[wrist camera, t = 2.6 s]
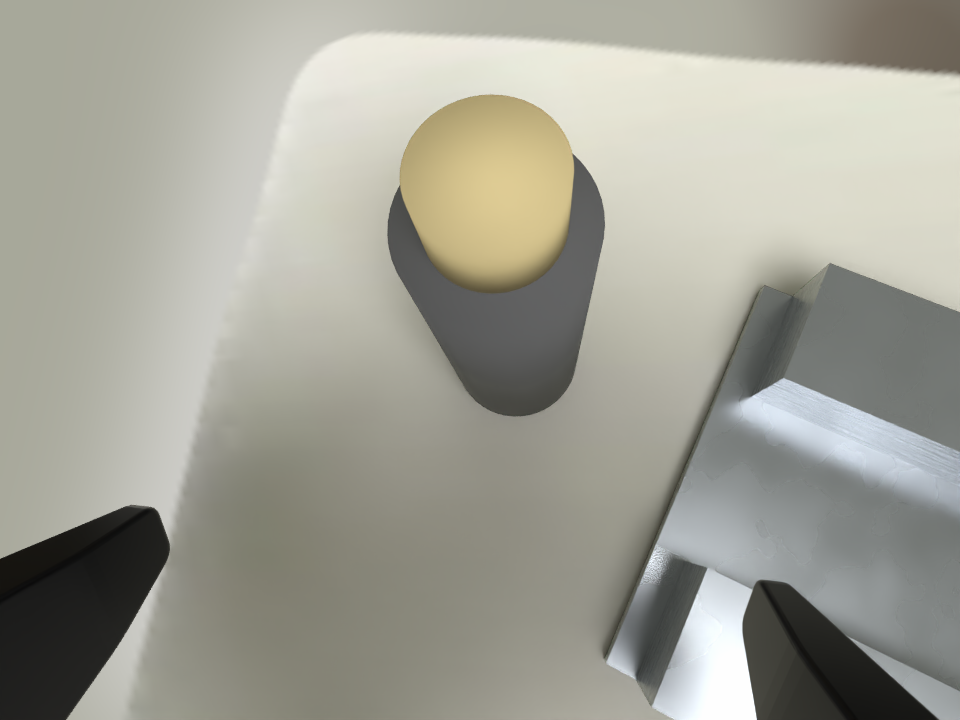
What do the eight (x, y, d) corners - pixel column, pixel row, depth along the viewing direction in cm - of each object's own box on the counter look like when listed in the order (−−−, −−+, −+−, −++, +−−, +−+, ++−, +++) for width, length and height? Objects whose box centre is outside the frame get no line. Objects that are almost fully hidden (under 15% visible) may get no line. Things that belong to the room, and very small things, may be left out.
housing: (1061, 905, 18) (1187, 999, 14) (604, 659, 21) (616, 688, 17) (1181, 458, 20) (1313, 446, 17) (759, 291, 23) (797, 250, 20)
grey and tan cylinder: (545, 436, 22) (548, 334, 10) (437, 385, 23) (315, 231, 11) (595, 329, 23) (657, 109, 11) (489, 283, 24) (431, 30, 12)
